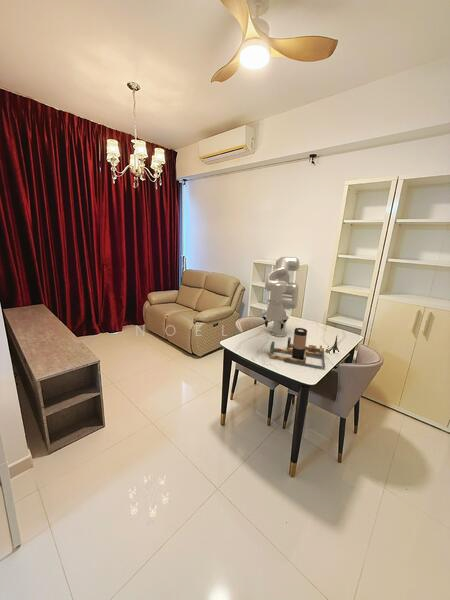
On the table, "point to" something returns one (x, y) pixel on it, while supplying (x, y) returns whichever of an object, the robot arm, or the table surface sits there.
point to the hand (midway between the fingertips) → (273, 327)
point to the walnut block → (312, 348)
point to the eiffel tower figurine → (333, 347)
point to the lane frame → (310, 364)
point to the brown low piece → (285, 353)
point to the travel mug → (299, 343)
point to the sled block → (305, 348)
